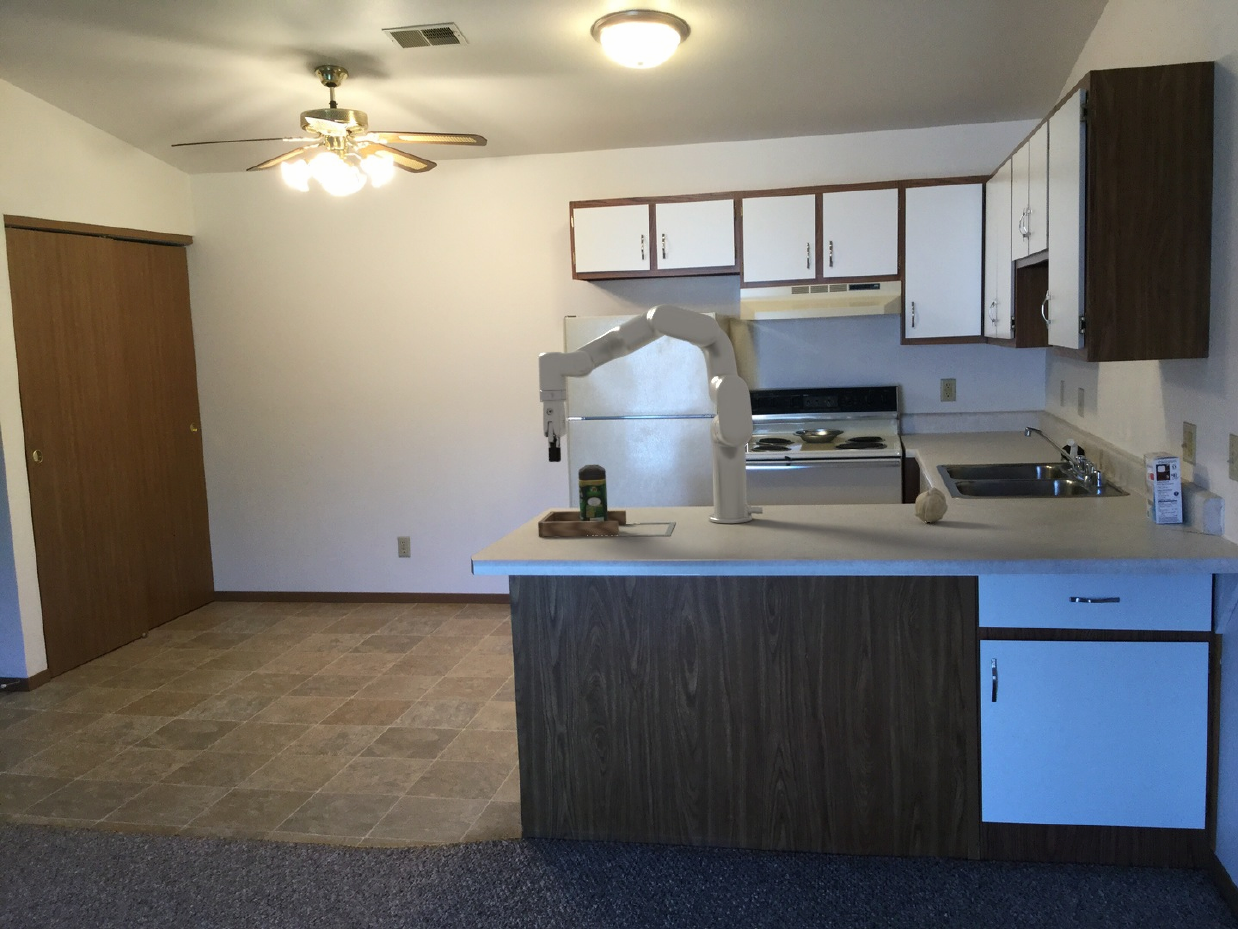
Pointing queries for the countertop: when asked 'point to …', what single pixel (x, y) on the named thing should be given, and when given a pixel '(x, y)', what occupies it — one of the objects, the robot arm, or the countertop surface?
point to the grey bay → (668, 533)
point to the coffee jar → (592, 493)
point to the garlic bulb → (931, 505)
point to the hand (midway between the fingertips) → (554, 461)
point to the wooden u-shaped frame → (579, 524)
